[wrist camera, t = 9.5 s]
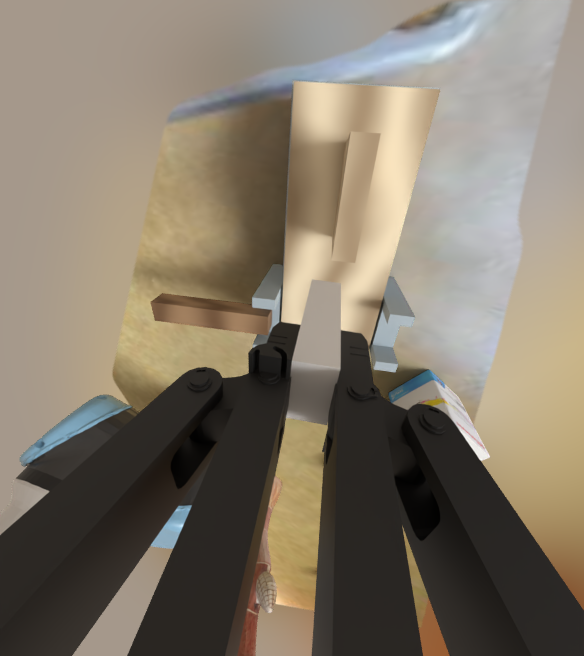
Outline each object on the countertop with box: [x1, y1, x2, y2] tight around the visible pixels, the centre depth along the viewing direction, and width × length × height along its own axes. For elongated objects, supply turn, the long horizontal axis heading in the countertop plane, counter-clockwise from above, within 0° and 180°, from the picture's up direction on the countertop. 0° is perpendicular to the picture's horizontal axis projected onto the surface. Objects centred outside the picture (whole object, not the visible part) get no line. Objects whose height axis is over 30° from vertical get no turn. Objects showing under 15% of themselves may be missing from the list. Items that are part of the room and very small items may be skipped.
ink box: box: [388, 370, 490, 461], centre depth 42 cm, size 9×8×12 cm
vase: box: [237, 476, 282, 656], centre depth 56 cm, size 10×7×30 cm
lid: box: [281, 81, 440, 349], centre depth 25 cm, size 11×25×10 cm, turn 176°
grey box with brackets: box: [252, 80, 440, 372], centre depth 30 cm, size 17×26×12 cm, turn 176°
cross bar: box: [151, 293, 272, 335], centre depth 32 cm, size 14×2×2 cm, turn 86°
